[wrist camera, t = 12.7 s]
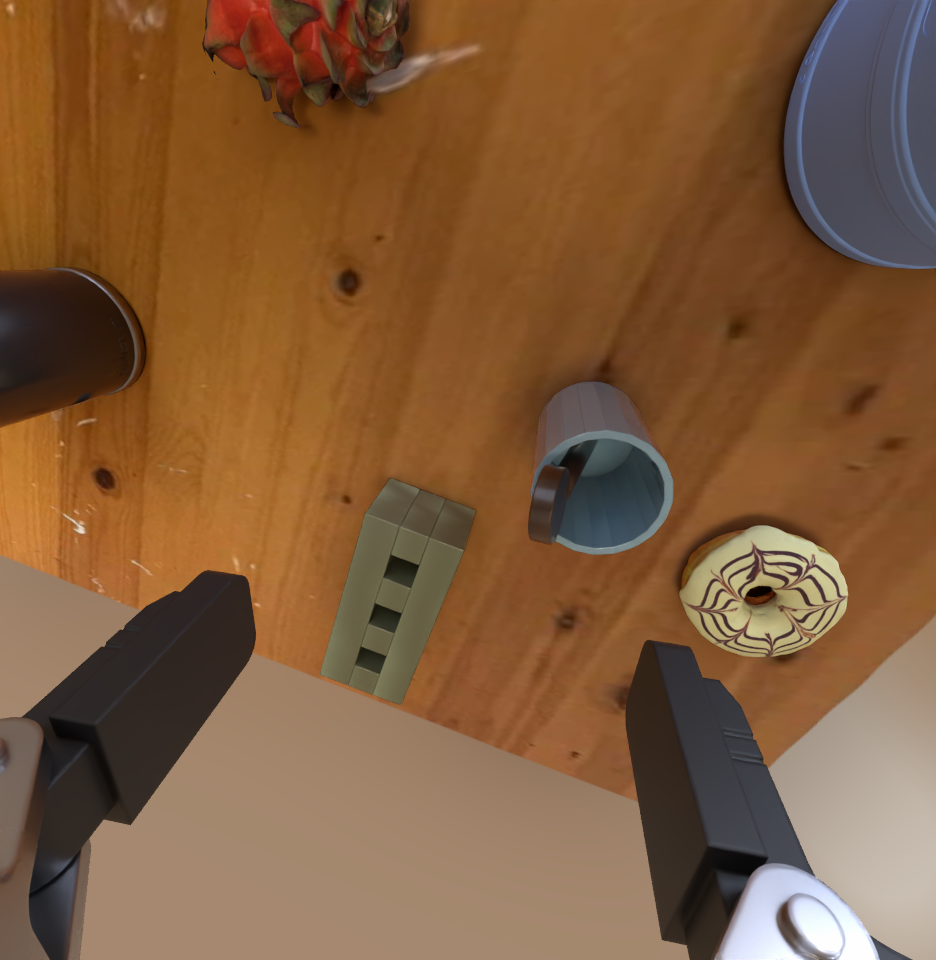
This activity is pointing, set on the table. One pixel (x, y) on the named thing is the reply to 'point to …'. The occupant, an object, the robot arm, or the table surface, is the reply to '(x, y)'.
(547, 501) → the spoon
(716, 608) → the decorated donut
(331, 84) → the dragon fruit
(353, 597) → the stand
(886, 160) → the water jug
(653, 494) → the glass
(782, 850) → the robot arm
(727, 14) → the table surface
